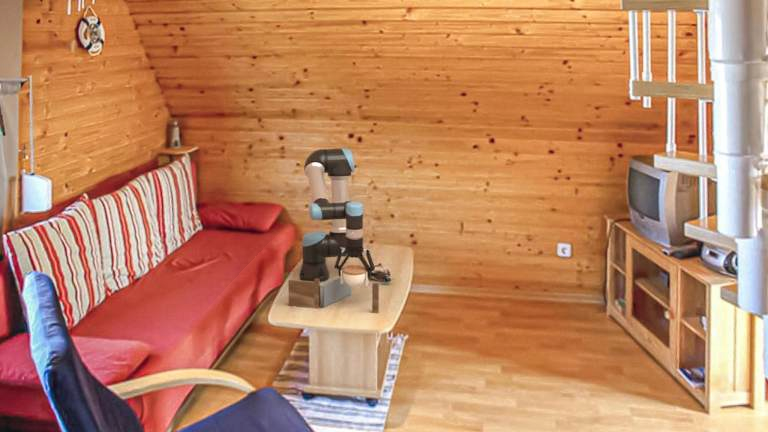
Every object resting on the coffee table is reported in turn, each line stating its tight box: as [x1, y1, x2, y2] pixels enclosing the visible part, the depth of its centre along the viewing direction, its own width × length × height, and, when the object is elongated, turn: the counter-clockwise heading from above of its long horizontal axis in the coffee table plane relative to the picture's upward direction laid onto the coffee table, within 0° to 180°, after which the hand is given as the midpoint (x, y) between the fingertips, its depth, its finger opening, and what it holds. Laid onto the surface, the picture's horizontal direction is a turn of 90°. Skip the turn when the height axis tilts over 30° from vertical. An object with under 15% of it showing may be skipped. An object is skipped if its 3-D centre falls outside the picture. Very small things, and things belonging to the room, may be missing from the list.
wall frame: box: [287, 278, 380, 314], centre depth 316 cm, size 2×41×14 cm, turn 79°
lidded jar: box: [342, 264, 367, 288], centre depth 318 cm, size 11×11×9 cm
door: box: [319, 276, 352, 309], centre depth 326 cm, size 2×22×10 cm, turn 145°
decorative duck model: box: [369, 262, 395, 283], centre depth 352 cm, size 15×8×15 cm
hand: (354, 284), depth 319 cm, fingers closed on lidded jar, 11 cm apart
